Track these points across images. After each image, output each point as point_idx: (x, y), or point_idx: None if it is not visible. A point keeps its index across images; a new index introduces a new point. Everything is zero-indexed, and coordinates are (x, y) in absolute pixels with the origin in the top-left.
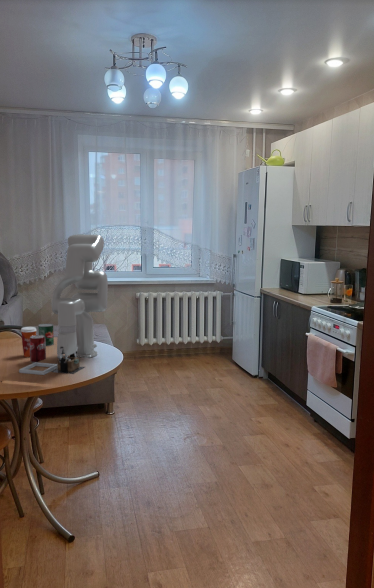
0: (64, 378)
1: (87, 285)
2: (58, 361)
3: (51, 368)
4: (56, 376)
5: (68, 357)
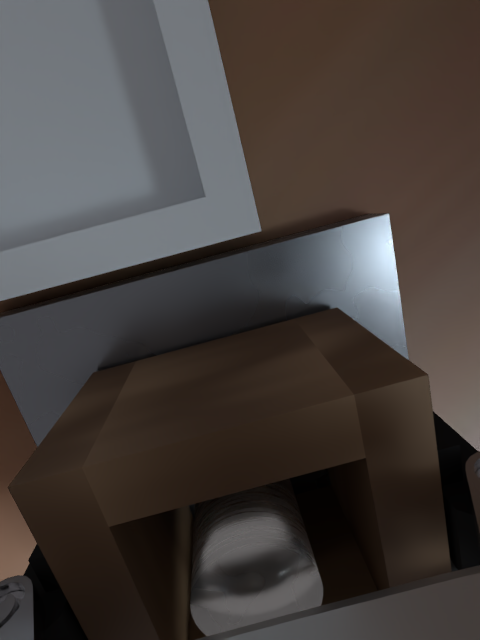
0: (20, 559)
1: None
2: (30, 502)
3: (9, 297)
4: (6, 435)
5: (389, 496)
